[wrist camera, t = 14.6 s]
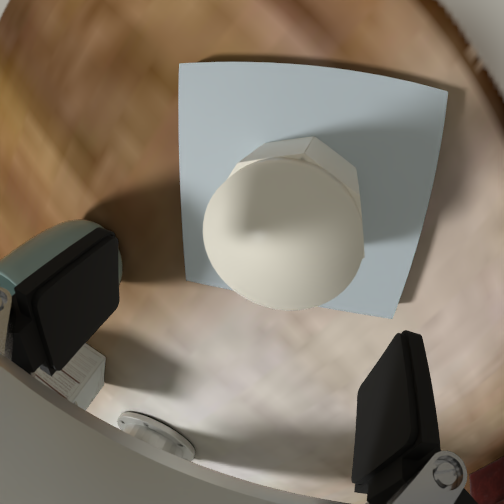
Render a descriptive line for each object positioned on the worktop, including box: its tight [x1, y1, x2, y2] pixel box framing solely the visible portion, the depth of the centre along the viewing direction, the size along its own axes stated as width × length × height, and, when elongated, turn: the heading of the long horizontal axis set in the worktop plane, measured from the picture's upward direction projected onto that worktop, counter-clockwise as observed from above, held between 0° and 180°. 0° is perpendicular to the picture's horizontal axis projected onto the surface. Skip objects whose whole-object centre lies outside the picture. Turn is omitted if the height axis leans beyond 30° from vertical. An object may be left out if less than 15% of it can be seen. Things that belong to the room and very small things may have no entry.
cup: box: [0, 219, 123, 296], centre depth 21 cm, size 8×8×10 cm
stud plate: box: [179, 62, 448, 319], centre depth 16 cm, size 14×14×6 cm
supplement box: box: [35, 343, 106, 411], centre depth 30 cm, size 7×7×13 cm
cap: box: [203, 136, 365, 311], centre depth 15 cm, size 6×6×6 cm
